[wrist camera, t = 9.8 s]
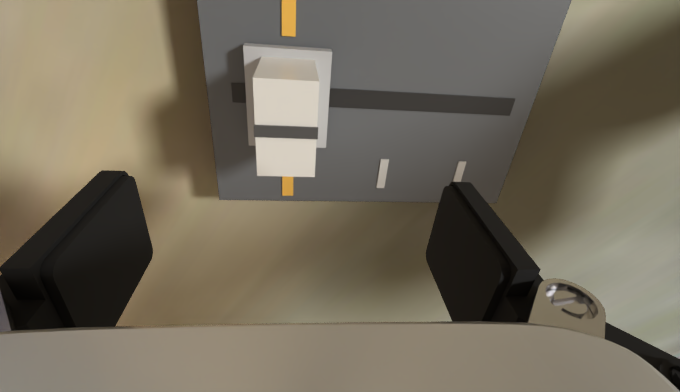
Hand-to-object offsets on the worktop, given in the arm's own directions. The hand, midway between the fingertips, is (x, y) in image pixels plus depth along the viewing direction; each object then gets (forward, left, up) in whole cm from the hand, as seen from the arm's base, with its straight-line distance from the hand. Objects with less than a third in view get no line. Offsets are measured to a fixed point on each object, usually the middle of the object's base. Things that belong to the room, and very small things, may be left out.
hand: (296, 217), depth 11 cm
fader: (0, 0, -13) cm, 13 cm away
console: (-6, 0, -17) cm, 18 cm away
